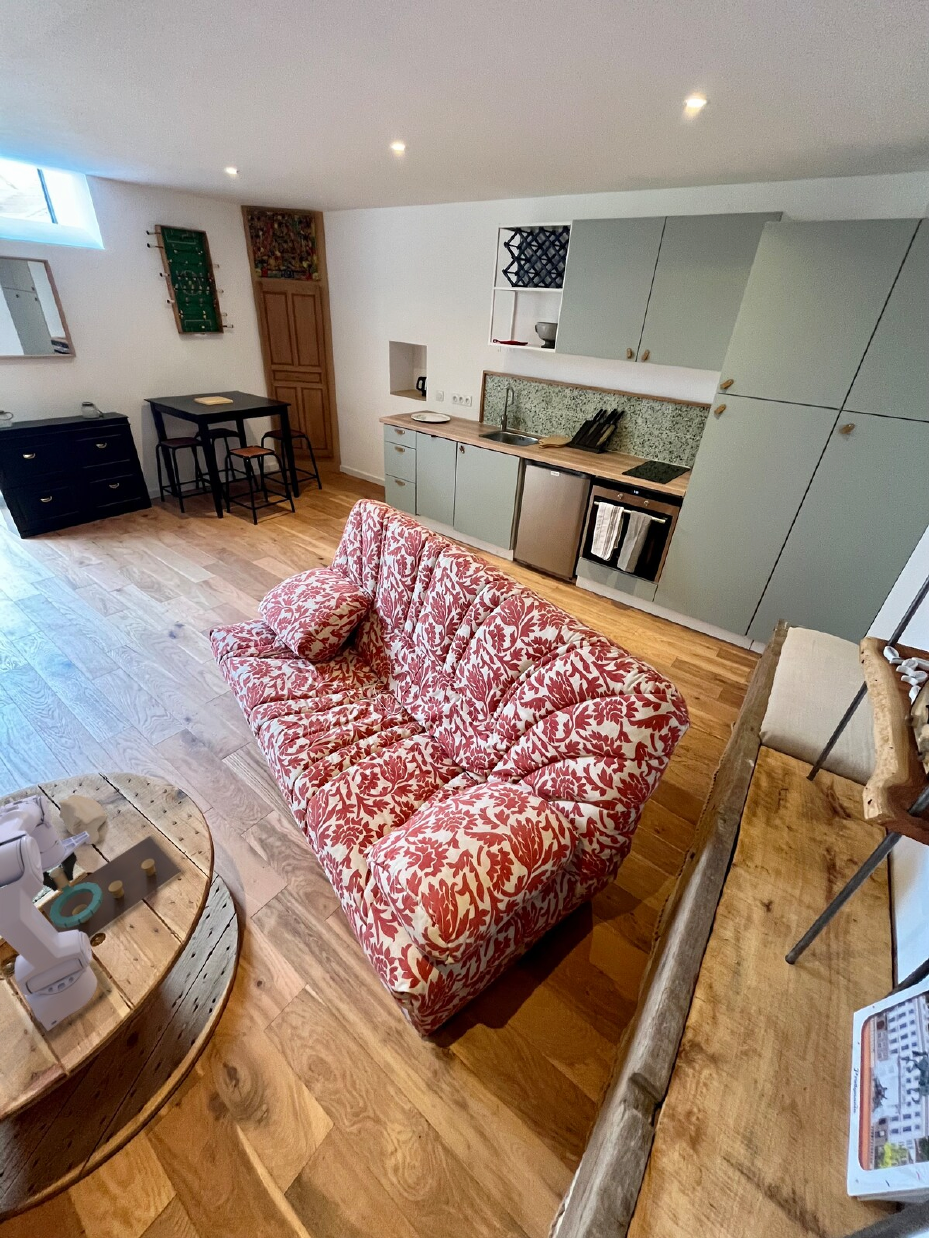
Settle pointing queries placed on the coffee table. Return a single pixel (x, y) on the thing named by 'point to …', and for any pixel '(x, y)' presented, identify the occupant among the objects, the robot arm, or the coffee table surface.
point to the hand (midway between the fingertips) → (62, 882)
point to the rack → (119, 886)
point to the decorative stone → (82, 816)
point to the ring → (63, 885)
